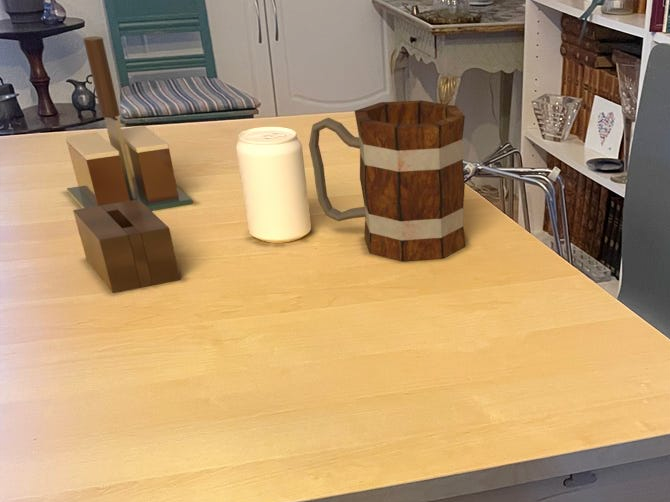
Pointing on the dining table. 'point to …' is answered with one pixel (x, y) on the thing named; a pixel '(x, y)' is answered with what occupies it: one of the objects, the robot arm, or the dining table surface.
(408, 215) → the mug
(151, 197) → the twin slanted wooden posts
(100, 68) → the knife
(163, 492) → the dining table surface
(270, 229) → the beverage can
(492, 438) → the dining table surface
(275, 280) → the dining table surface
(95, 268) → the knife block
